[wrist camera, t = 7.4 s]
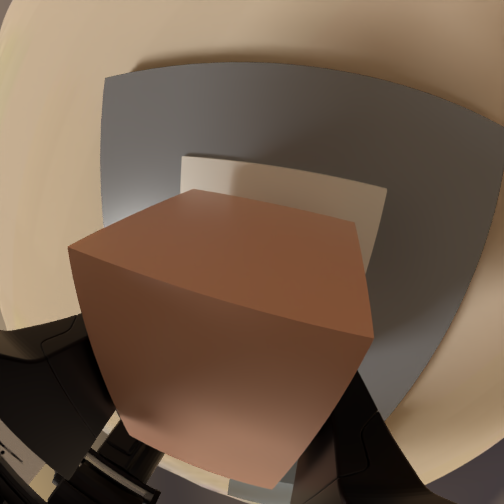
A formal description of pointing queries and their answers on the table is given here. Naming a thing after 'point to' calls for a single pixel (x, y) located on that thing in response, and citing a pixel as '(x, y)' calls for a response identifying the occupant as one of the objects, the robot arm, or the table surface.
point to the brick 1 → (225, 327)
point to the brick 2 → (265, 490)
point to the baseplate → (323, 178)
